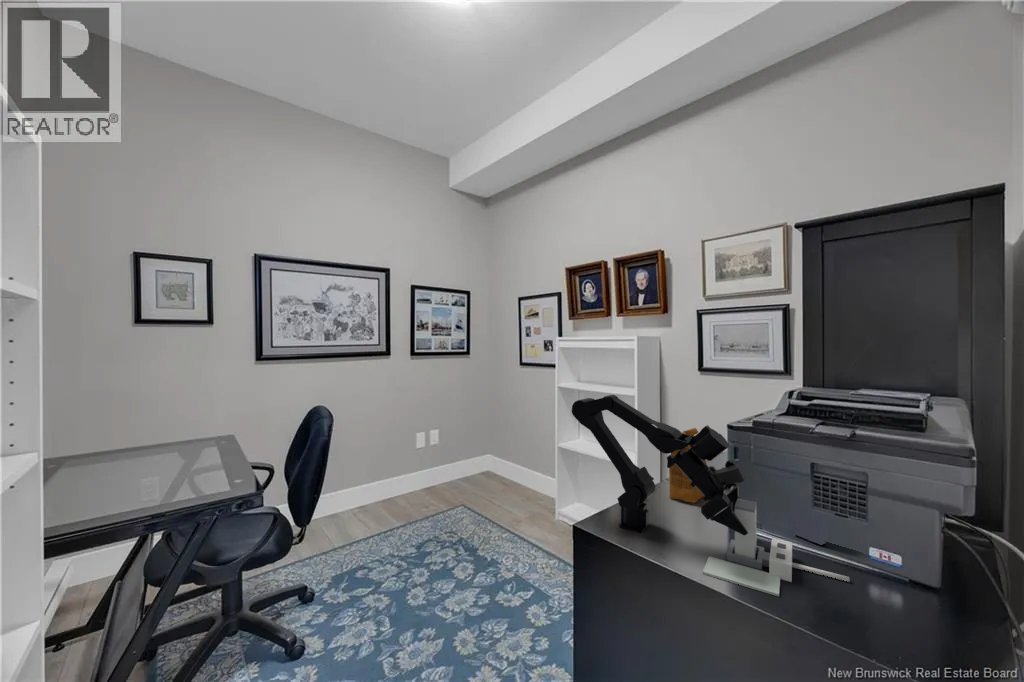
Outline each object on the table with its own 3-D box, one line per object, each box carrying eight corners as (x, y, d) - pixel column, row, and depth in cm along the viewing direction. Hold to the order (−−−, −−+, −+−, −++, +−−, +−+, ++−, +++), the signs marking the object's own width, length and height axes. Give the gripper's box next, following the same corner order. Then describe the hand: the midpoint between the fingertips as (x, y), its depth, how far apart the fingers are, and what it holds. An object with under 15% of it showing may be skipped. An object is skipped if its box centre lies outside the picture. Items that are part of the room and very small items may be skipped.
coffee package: (712, 496, 133) (712, 429, 133) (695, 507, 125) (695, 435, 125) (682, 488, 141) (682, 424, 141) (664, 498, 132) (664, 430, 132)
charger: (734, 559, 95) (734, 506, 95) (737, 549, 100) (737, 498, 100) (754, 565, 93) (754, 510, 93) (756, 554, 98) (756, 502, 98)
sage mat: (702, 573, 90) (702, 571, 90) (708, 558, 96) (708, 556, 96) (779, 596, 82) (779, 594, 82) (780, 578, 88) (780, 576, 88)
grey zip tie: (725, 563, 94) (725, 547, 94) (732, 542, 104) (732, 527, 104) (852, 599, 81) (852, 580, 81) (846, 570, 91) (846, 554, 91)
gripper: (716, 461, 92) (775, 523, 85) (727, 443, 107) (778, 494, 101) (679, 489, 96) (732, 550, 90) (695, 468, 111) (742, 519, 105)
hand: (748, 526), depth 96 cm, fingers open, 9 cm apart
